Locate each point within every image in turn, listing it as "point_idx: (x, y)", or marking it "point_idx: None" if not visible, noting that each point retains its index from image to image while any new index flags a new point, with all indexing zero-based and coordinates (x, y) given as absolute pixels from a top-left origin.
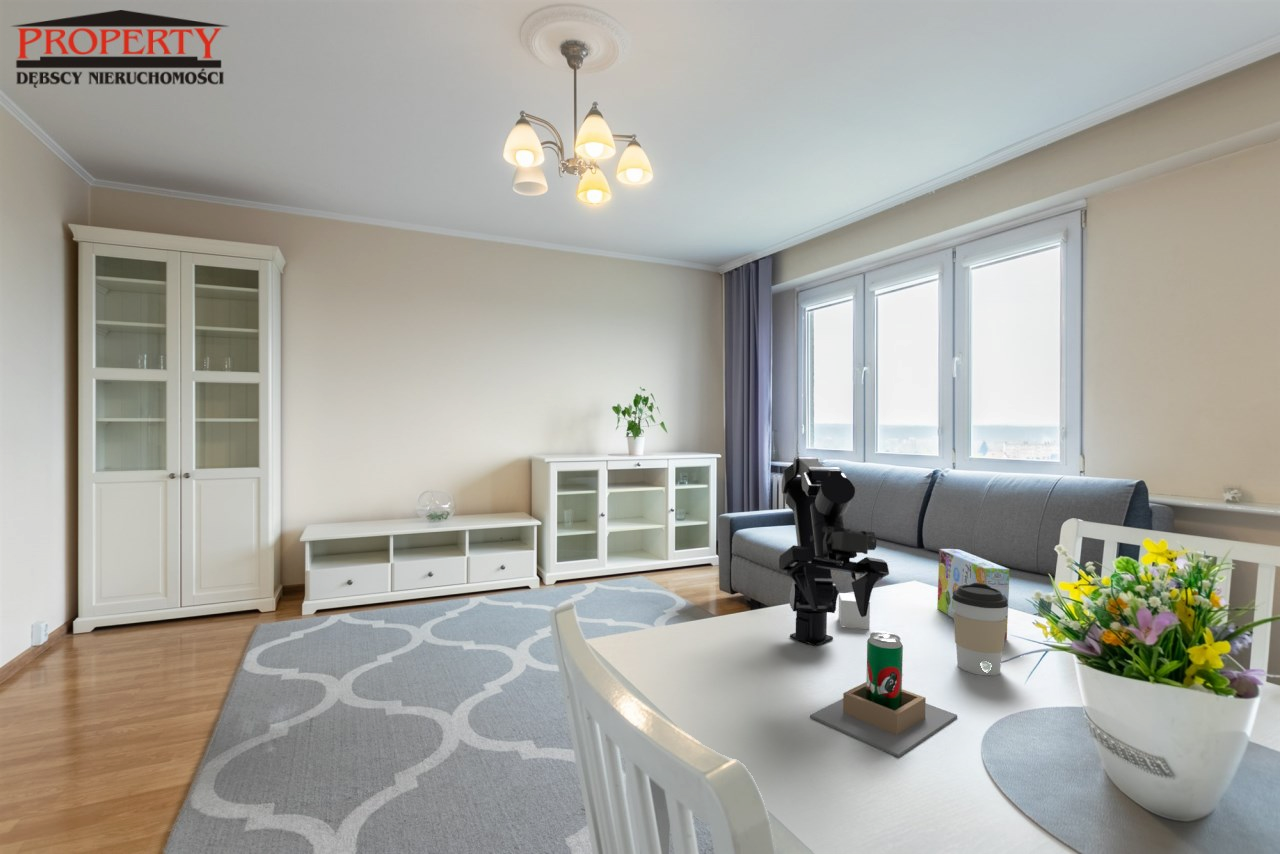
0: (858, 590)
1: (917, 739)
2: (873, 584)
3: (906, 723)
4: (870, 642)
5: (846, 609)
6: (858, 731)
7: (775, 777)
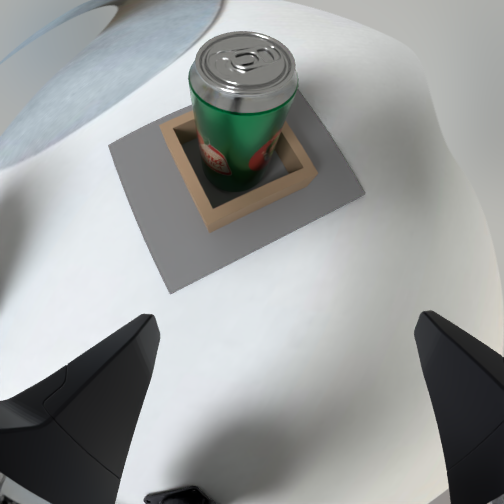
0: (100, 455)
1: None
2: (2, 403)
3: None
4: (296, 77)
5: None
6: (311, 128)
7: (426, 103)
